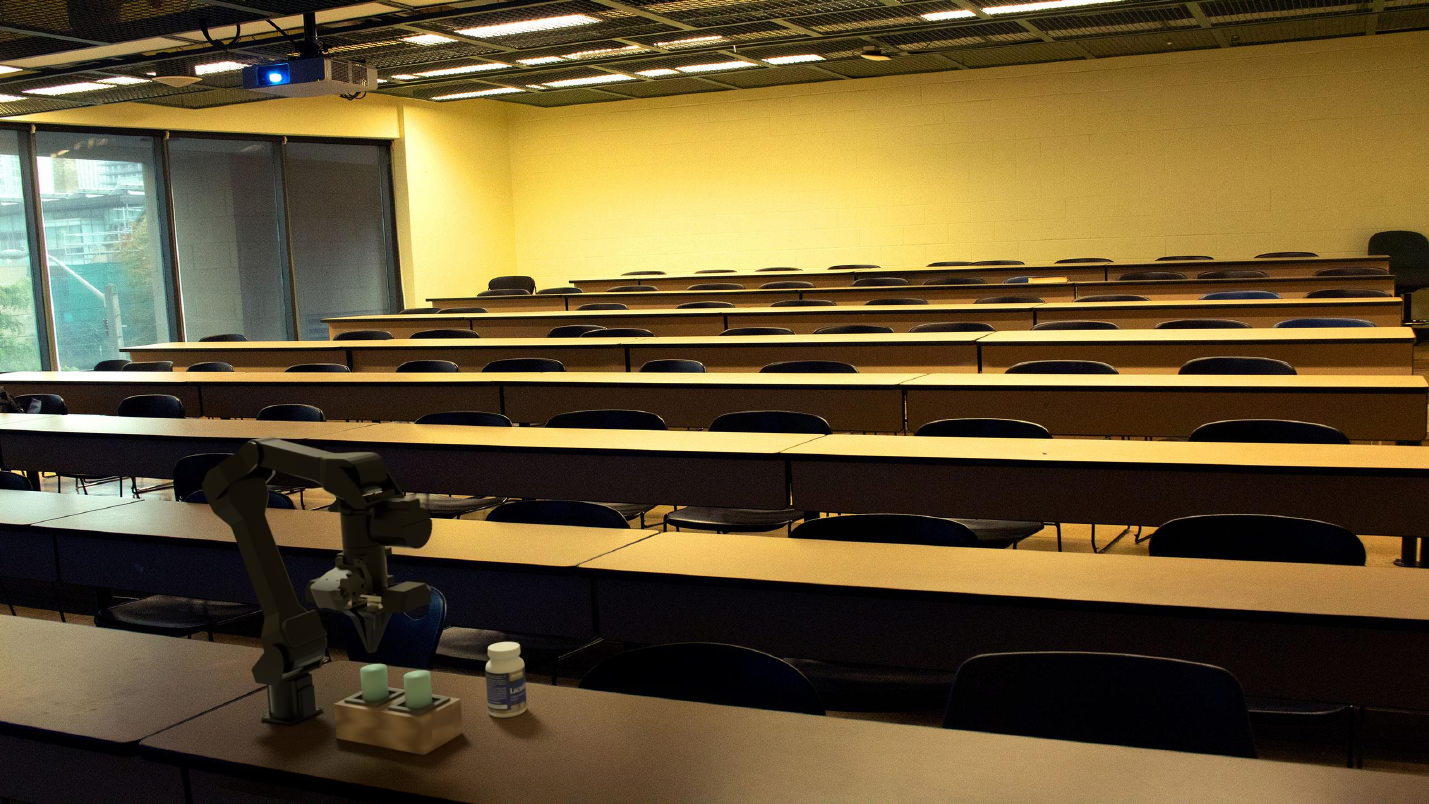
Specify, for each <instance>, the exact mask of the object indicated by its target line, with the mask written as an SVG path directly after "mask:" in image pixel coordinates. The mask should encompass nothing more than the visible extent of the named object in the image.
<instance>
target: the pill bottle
mask: <svg viewBox="0 0 1429 804" xmlns="http://www.w3.org/2000/svg"><path fill="white" fill-rule="evenodd" d="M520 654H521V645H520V644H519V642H514V641H502V642H496V643H493V644H490V645H489V646H488V647H487V657H488V658H489V660H488V661H487V662H486V665H485V682H486V684H485V685H486V687H485V688H486V706H487V711H488V712H487V713H488V714H489V715H490V716H492V717H496V718H501V719H503V718H505V719H506V718H512V717H516V716H520V715H521V714H524V712H525V711H526V710H527V707H528V706H527V705H528V704H527V703H528V702H527V688H526V667H525V662H524V661H525V660H523V658H521V657H520Z"/></svg>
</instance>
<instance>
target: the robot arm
mask: <svg viewBox="0 0 1429 804" xmlns="http://www.w3.org/2000/svg"><path fill="white" fill-rule="evenodd" d="M276 472H278V473H283V474H285V475H290V476H294V477H297V478H302V479H306V480H309V481H312V482H313V481H314V482H316V483H318V484H319V485H320V486H321V488H322V489H323V490H324V491H325V492H326V493H329V494H331V495H333V496H334V497H336V499H335V500H334V501H333V502H332V503H331V504H330V505H329V506H328V507H327V511H328V512H329V513H335V514H336V513H337V514H338V513H339V519H340V530H341V531H340V532H341V542H342V545H341V546H342V552H340V553H336V557H335V559H334V561H335V566H334V568H333V569H331V570H329V571H326V572H325V574H324V575H322V576H320V577H317V578H315V579H311V580H309V581H308V583H307V584H306V586H305V588H304V593H305V602H307V603H315V604H316V606H317V607H318V608H319V609H323V608H326V609H331V610H333V611H340V612H342V613H344V614H345V615H346V616H348V617H349V618H350V620H351V621H352V623H353V624H354V627H355V628H356V631H357V632H358V633H357V634H358V635H359V637H360V639H361V642H362V643H363V645H364V648H365V650H366V652H367V653H375V652H377V650H378V648H379V645H380V643H381V641H382V638H383V635H384V633H385V630H386V627H387V625H388V622H389V621H390V618H391V616H392V615H393V613H397V614H398V613H399V614H404V613H408V612H411V611H413V610H416V609H418V608H421V607H423V606H426V605H428V604H431V603H432V601H433V599H432V589H431V587H430V586H429V585H428V584H427V583H425V582H415V581H404V582H402V583H399V584H397V585H394V586H391V587H388V585H391V584H393V583H395V576H394V575H392V574H391V575H390V574H388V565H387V557H388V556H390V555H393V548H402V549H411V550H412V549H414V550H418V549H422V548H423V547H425V545H427V544H428V542H429V540H430V539H431V536H432V534H433V533H432V531H433V520H432V518H431V516H430V514H429V512H428V511H427V510H426V508H424V507H422V506H421V500H420V498H419V497H412V498H410V497H409V498H405V497H406V496H405V494H404V492H403V490H402V489H401V487H400V485H399V484H398V482H397V481H396V480H395V478H394V476H393V475H392V473H391V472H390V470H389V468H388V467H387V465H386V464H385V462H384V461H383V456H381V455H380V454H379V453H376V452H372V451H371V452H368V451H366V452H365V451H364V452H362V451H361V452H360V451H358V452H357V451H356V452H344V453H343V452H341V453H340V452H336V453H335V452H330V451H326V450H322V449H318V448H315V447H311V446H306V445H302V444H298V443H294V442H290V441H286V440H283V439H280V438H279V437H275V436H266V437H261V438H260V437H259V438H255V439H250V440H248V441H247V442H246V443H244V444H243V445H242V446H241V447H240V448H239V450H238V451H236V452H235V453H233V454H232V455H230V456H228V457H226V458H225V459H224V460H222V461H220V462H219V463H218V464H217V465H216V466H215V467H212V468H210V469H209V470H208V471H207V472H206V474H205V476H204V479H203V481H202V485H201V486H202V487H201V488H202V492H203V495H204V498H205V499H206V501H207V503H208V505H209V507H210V508H211V511H212V512H213V514H214V515H216V517H218V518H219V519H221V520H222V521H223V522H224V523H226V524H227V525H228V526H229V527H230V529H231V530H232V533H233V536H234V539H235V541H236V544H237V546H238V549H239V552H240V555H241V558H242V560H243V563H244V565H245V568H246V570H247V573H248V576H249V578H250V581H251V584H252V587H253V590H254V592H255V594H256V597H257V600H258V602H259V605H260V608H261V610H262V613H263V617H264V621H263V625H262V630H261V634H260V641H261V645H262V648H263V653H262V655H261V656H260V657H259V659H258V660H257V661H256V662H255V663H254V665H253V666H252V668H251V673H252V675H253V678H254V682H255V683H256V684H260V685H261V684H262V685H266V695H267V707H268V712H267V713H264V714H262V715H261V716H260V720H262V721H265V722H266V721H267V722H272V723H277V724H283V725H288V726H291V725H295V724H297V723H299V722H301V721H303V720H305V719H307V718H310V717H312V716H314V715H316V714H318V713H320V712H322V711H324V706H321V705H317V702H316V690H315V684H314V683H313V674H312V673H310V672H313V671H315V670H316V671H317V670H319V669H321V668H322V666H323V661H324V656H325V653H326V649H327V648H328V641H327V638H326V636H327V635H328V632H327V630H326V629H325V628H324V626H323V624H322V620H321V617H320V614H319V612H318V611H317V610H316V609H313V610H310V611H308V610H307V609H306V608H304V607H303V606H302V605H301V604H300V603H299V601H298V599H297V596H296V593H295V591H294V587H293V585H292V582H291V580H290V578H289V574H288V572H287V570H286V567H285V564H284V562H283V559H282V556H281V554H280V550H279V548H278V546H277V543H276V540H275V537H274V535H273V532H272V529H271V527H270V524H269V522H268V519H267V516H266V511H267V506H268V502H269V496H270V493H269V490H268V485H267V483H269V481H270V480H271V479H272V478H273V477H274V476H275V475H276Z"/></svg>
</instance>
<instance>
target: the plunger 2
mask: <svg viewBox="0 0 1429 804" xmlns="http://www.w3.org/2000/svg"><path fill="white" fill-rule="evenodd" d="M403 684H404V685H403V686H404V687H403V688H404V689H403V690H405V703H406V708H412V709H418V710H421V709H423V708H425V707H427V706H429V705H431V704H432V694H433V692H432V691H433V690H432V677H431V672H430V671H428V670H423V669H422V670H412V671H409V672H407V673H405V674H404V675H403Z"/></svg>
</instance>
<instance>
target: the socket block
mask: <svg viewBox="0 0 1429 804" xmlns="http://www.w3.org/2000/svg"><path fill="white" fill-rule="evenodd" d="M388 691H389V696H388V697H386V698H384V699H382V700H380V701H378V702H371V701H365V700H363V699H362V690H360V691H358V692H356V693H355V694H352V695H350V696H348V697H346V698H344V699H341V700H339V701H338V702H335V703H333V709H334V710H333V711H334V721H335V731H336V739H340V740H345V741H349V742H355V743H360V744H364V745H365V744H366V745H371V746H376V747H380V748H386V749H391V750H396V751H402V752H406V753H407V752H408V753H412V754H417V755H421V756H425V755H427V754H429V753H431V752H433V751H434V750H436V749H438V748H440V747H441V746H443V745H444V744H447V743H448V742H450V741H452V740H453V739H456V738H457V737H459V736H460V735H462V734H464V728H463V715H462V699H461V698H458V697H451V696H445V695H439V694H433V693H432V704H431V705H429V706H427V707H425V708H423V709H421V710H418V709H412V708H406V703H405V689H401V688H395V687H390V686H388Z"/></svg>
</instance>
